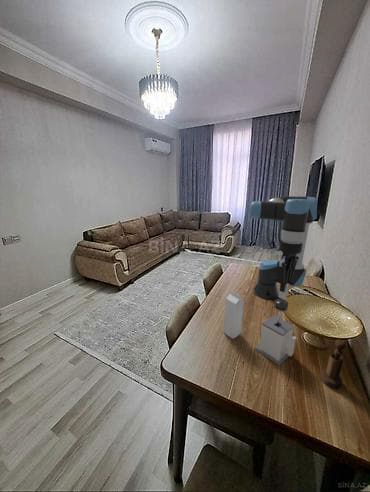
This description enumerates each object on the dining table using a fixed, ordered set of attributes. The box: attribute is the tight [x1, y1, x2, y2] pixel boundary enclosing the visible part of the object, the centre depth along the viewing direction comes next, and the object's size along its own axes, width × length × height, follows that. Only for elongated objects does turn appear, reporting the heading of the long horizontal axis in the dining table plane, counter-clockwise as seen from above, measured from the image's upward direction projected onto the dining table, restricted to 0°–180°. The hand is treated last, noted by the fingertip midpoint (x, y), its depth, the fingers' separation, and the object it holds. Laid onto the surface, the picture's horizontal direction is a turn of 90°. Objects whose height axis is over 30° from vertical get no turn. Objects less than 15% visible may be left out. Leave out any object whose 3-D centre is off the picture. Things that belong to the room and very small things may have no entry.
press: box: [255, 315, 297, 367], centre depth 89 cm, size 11×13×14 cm
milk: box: [222, 290, 245, 340], centre depth 100 cm, size 6×6×22 cm
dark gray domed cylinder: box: [273, 298, 289, 327], centre depth 87 cm, size 6×6×14 cm
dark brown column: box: [320, 338, 346, 390], centre depth 76 cm, size 7×6×18 cm
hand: (282, 297), depth 85 cm, fingers closed
